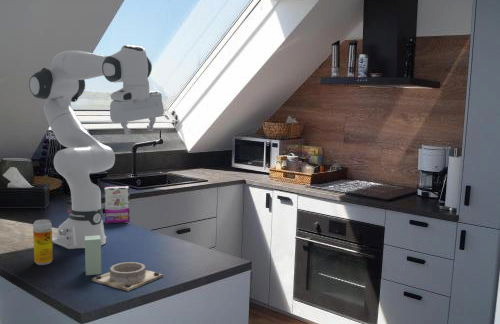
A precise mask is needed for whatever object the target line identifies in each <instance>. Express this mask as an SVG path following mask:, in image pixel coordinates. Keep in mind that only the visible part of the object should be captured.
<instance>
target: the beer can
mask: <svg viewBox="0 0 500 324" xmlns="http://www.w3.org/2000/svg"><path fill="white" fill-rule="evenodd" d="M32 228H33V229H32V234H33V256H34V263H35V264H36V265H38V266H45V265H49V264H51V263H52V261H53V260H54V256H53V254H54V253H53V242H52V238H53V229H52V228H53V227H52V222H51V220H50V219H36V220H35V221H33V224H32Z"/></svg>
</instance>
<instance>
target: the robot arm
mask: <svg viewBox="0 0 500 324" xmlns="http://www.w3.org/2000/svg"><path fill="white" fill-rule="evenodd" d="M152 69H153V65H152V62H151V60H150V58H149V57H148V55H147V52H146V49H145V48H144V47H143V46H141V45H137V44H126V45H123V46H122V47H121V49H120V50H119V51H117V52H116V53H113V54H111V55H108V56H107V55H101V54H97V53H93V52H89V51H83V50H65V51H61V52H58V53H57V54H56V55H54V57H53V58H52V60H51V67H50V68H46V67H43V68H41V70H39V71H36V72H35V73H33V75H31V77H30V78H29V83H28V86H29V87H28V88H29V91H30V92H31V94H32V95H33V96H34V98H36V99H41V100H46V101H45V103H44V104H43V112H44V116H45V118H46V121H47V123H48V125H49V127H50V129H51V131H52V133H53V134H54V136H55V138H56V140H57V141H58V143H59V144H60V145H62V146H63V147H65V148H63V149H60V150H58V151H57V152H56V153H55V155H54V157H53V167H54V169H55V171H56V172H57V173H58V174H59V175H61V177H63V178H64V179H65V181H66V183H67V184H68V186H69V189H70V190H69V191H70V195H71V198H70V199H71V209H68V210H67V209H66V210H67V214H69V216H68V218H67V219H66V220H65V221H64V222H62V223H61V224H59V226H58V228H57V234H56V235H57V236H54V237H52V244H56V245H58V246H61V247H63V248H65V249H67V250H75V249H85V236H96V235H100V238H101V246H102V245H105V244H106V243H107V235H105V226H104V220H103V219H102V217H103V207H102V192H101V189H100V187H99V186H98V185H97V184H95V183H93V182H92V180H91V178H90V174H95V173H102V172H104V171H105V172H106V171H107V170H110V169H112V168H113V167H114V165H115V163H116V162H115V161H116V155H115V152H114V149H113V148H111V146H109V145H106V144H104V143H102V142H100V141H98V140H97V139H96V138H95V137H94V136H92V135H91V134H90V133H89V131H87V129H85V127H84V125H83V123H81V121H80V119H79V118H78V115H77V114H76V113H75V111H74V109H73V107H72V103H75V102H77V101H78V100H79V97H81V96H82V95H83V93H84V91H85V90H86V81H85V80H90V79H94V78H97V77H104V78H105V79H106V80H107V81H108V82H110V83H116V84H117V83H123V84H122V88H120V89H118V90H116V91H114V92H112V93H111V94H110V99H111V100H112V101H111V102H110V106H109V117H110V120H111V122H112V123H116V124H120V126H121V127H122V130H123V131H124V135H128V136H129V135H131V134H132V133H131V132H132V130H131V128H129V127H128V125H129V124H128V123H129V122H135V121H141V120H142V121H143V120H146V119H147V120H148V121H149V123H148V125H147V126H146V131H148V132H151V131H152V132H153V131H154V125H155V123H156V122H157V121H156V120H157V119H156V118H160V117H161V118H162V117H164V115H165V110H164V104H163V103H164V102H163V97H162V93H161V92H160V91H158V90H154V91H150V82H149V77H150V75H151V73H152Z"/></svg>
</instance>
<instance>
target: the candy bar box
mask: <svg viewBox="0 0 500 324" xmlns="http://www.w3.org/2000/svg"><path fill="white" fill-rule="evenodd" d="M129 187H130V186H129V185H127V186H126V185H125V186H123V185H121V186H105V187H104V192H103V194H104V223H105V224H124V223H125V224H126V223H130V222H131V214H130V213H131V211H130V209H131V208H130V188H129Z"/></svg>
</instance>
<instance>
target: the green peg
mask: <svg viewBox="0 0 500 324" xmlns="http://www.w3.org/2000/svg"><path fill="white" fill-rule="evenodd" d="M84 259H85V261H84V263H85V264H84V265H85V266H84V267H85V276H92V275H93V276H97V275H103V274H102V245H101V238H100V235H96V236H85V248H84Z"/></svg>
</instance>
